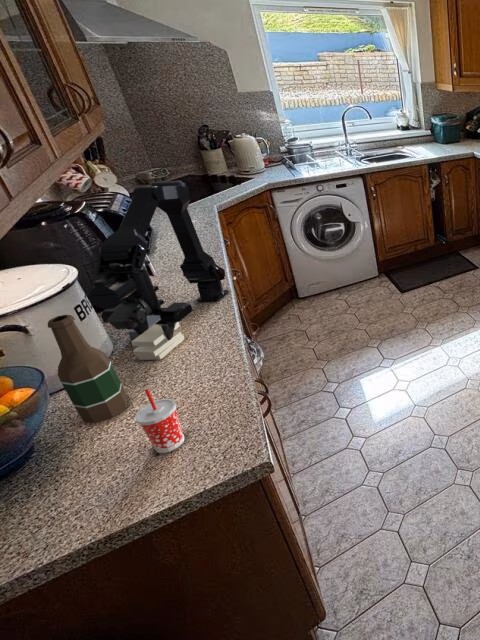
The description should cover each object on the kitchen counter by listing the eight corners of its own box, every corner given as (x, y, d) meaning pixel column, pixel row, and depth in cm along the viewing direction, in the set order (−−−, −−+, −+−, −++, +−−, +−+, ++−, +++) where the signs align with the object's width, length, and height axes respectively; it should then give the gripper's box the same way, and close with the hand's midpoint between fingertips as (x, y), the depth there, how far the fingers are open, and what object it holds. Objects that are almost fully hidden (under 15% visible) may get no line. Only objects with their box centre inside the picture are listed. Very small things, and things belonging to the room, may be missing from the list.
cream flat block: (162, 339, 114) (159, 330, 113) (185, 338, 114) (182, 330, 113) (135, 361, 105) (131, 352, 104) (159, 360, 106) (156, 352, 104)
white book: (159, 326, 112) (157, 321, 112) (180, 326, 112) (178, 321, 112) (132, 346, 104) (130, 341, 103) (155, 346, 104) (153, 341, 104)
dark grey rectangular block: (160, 319, 123) (156, 310, 122) (175, 319, 123) (172, 310, 122) (130, 341, 113) (125, 331, 111) (146, 341, 113) (142, 331, 112)
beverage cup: (180, 453, 81) (155, 399, 75) (144, 458, 79) (116, 403, 74) (194, 429, 86) (173, 376, 80) (161, 433, 85) (137, 380, 79)
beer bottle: (89, 430, 85) (36, 334, 75) (76, 414, 89) (24, 321, 79) (136, 406, 91) (92, 315, 81) (122, 393, 95) (79, 304, 85)
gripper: (68, 304, 95) (95, 359, 101) (151, 304, 95) (173, 358, 102) (109, 281, 105) (132, 332, 111) (184, 282, 105) (202, 332, 112)
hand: (158, 339), depth 109 cm, fingers closed on white book, 5 cm apart
